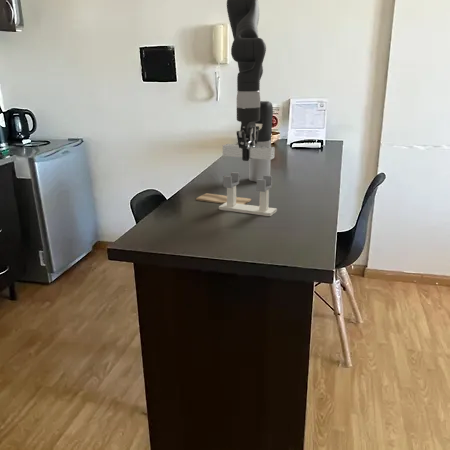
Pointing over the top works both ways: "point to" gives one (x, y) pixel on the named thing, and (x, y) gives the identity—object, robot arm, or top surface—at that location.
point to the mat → (221, 199)
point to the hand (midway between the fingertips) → (248, 159)
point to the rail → (254, 151)
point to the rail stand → (231, 204)
